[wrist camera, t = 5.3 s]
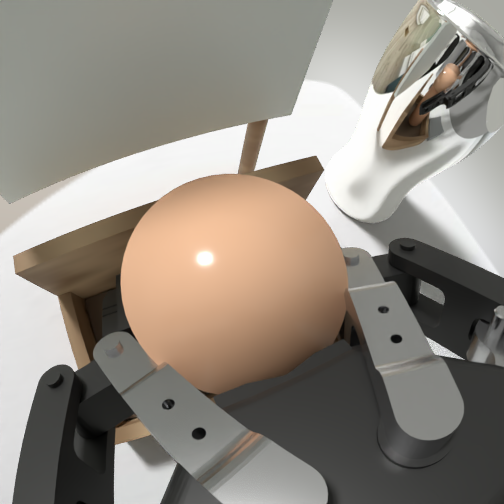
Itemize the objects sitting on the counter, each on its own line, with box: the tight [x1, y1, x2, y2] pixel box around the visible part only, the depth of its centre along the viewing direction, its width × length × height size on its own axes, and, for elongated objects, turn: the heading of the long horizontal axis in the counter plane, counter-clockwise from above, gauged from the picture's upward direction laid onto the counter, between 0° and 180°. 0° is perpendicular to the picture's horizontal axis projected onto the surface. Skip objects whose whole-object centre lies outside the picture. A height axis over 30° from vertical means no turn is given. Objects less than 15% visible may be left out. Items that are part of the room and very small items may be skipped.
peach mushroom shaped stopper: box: [121, 174, 348, 394], centre depth 12 cm, size 6×6×9 cm
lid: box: [0, 0, 333, 204], centre depth 9 cm, size 14×1×9 cm, turn 113°
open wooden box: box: [13, 119, 338, 445], centre depth 13 cm, size 14×13×12 cm
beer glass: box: [325, 0, 504, 223], centre depth 15 cm, size 7×7×15 cm
